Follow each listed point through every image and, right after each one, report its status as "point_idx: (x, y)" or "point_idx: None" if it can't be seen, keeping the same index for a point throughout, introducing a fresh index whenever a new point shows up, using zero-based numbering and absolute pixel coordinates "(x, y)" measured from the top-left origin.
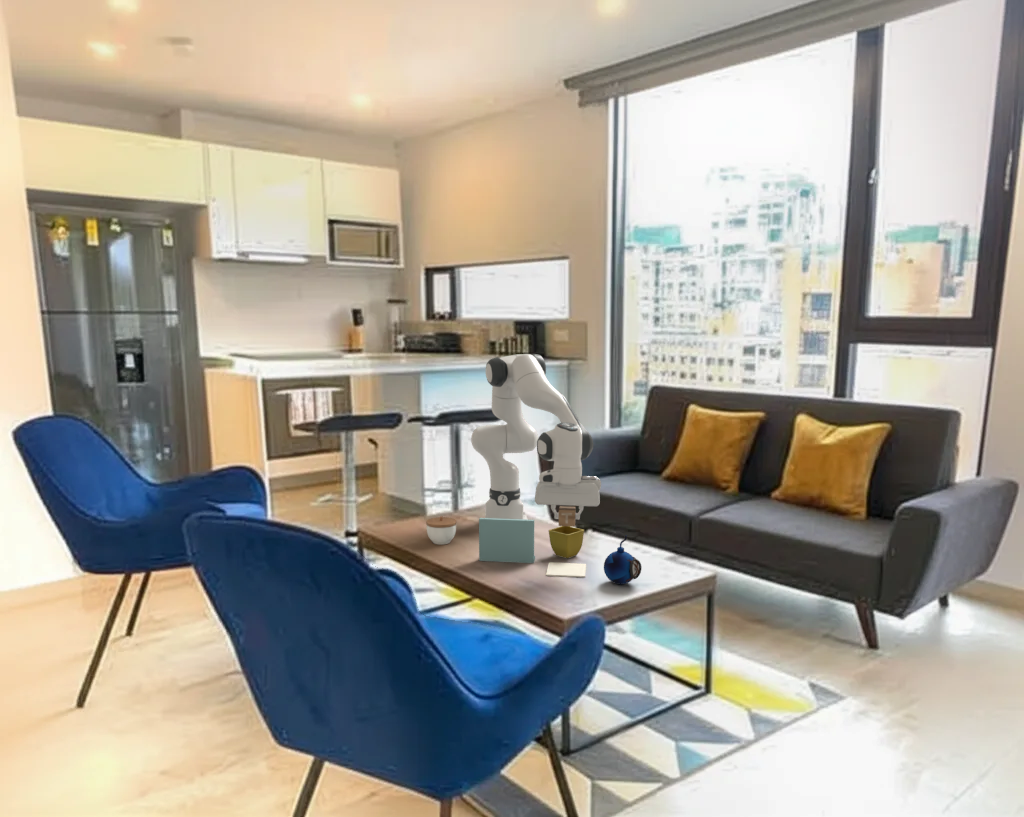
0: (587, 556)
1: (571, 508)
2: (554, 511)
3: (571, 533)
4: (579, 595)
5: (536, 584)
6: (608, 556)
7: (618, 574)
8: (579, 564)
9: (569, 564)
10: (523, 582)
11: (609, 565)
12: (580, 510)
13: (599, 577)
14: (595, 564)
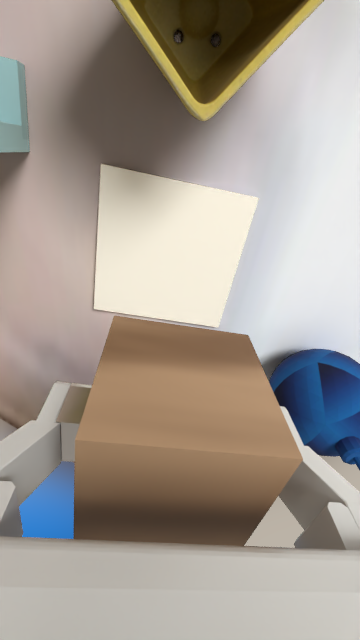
0: (309, 39)
1: (225, 506)
2: (30, 485)
3: (239, 79)
4: None
5: (70, 369)
6: (298, 427)
7: None
8: (229, 204)
9: (187, 202)
10: (30, 355)
11: None
12: (304, 523)
13: (261, 325)
14: (297, 189)
